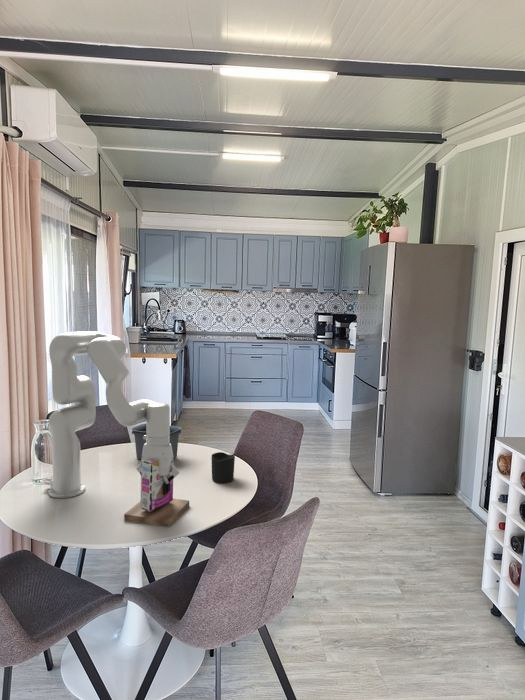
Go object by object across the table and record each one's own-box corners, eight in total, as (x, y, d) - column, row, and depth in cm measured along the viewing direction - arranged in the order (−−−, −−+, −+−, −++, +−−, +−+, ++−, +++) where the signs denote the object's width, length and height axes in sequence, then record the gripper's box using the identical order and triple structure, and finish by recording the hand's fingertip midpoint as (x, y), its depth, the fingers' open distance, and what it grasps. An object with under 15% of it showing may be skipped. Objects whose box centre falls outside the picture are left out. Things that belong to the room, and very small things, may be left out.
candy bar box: (151, 512, 151) (151, 463, 149) (139, 509, 153) (140, 460, 152) (174, 500, 160) (174, 454, 159) (163, 497, 163) (163, 451, 161)
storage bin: (127, 459, 209) (127, 428, 208) (147, 450, 223) (147, 420, 222) (168, 466, 202) (169, 434, 200) (186, 455, 216) (186, 425, 215)
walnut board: (124, 520, 151) (124, 514, 151) (147, 500, 167) (147, 495, 166) (169, 526, 147) (169, 520, 147) (189, 506, 163) (189, 500, 163)
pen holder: (229, 474, 194) (230, 451, 193) (237, 482, 186) (238, 458, 185) (208, 477, 191) (208, 453, 190) (215, 485, 182) (215, 460, 181)
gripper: (128, 440, 153) (128, 493, 155) (177, 446, 149) (176, 500, 151) (140, 434, 160) (140, 485, 162) (186, 439, 156) (185, 491, 158)
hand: (157, 491), depth 156 cm, fingers closed on candy bar box, 5 cm apart
